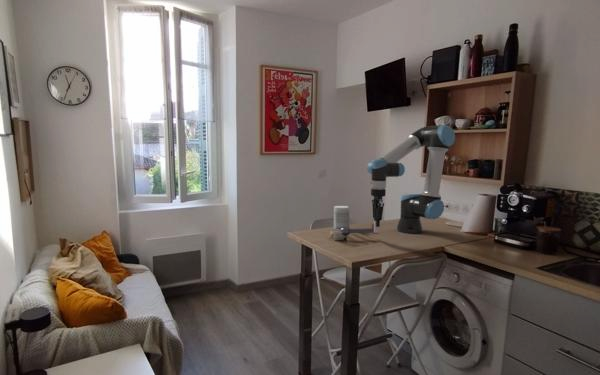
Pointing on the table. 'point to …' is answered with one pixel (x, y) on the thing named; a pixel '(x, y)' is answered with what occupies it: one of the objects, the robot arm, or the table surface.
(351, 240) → the cracker base
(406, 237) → the table surface
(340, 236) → the lever
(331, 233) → the walnut
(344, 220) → the supplement tub
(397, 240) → the table surface
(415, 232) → the robot arm
